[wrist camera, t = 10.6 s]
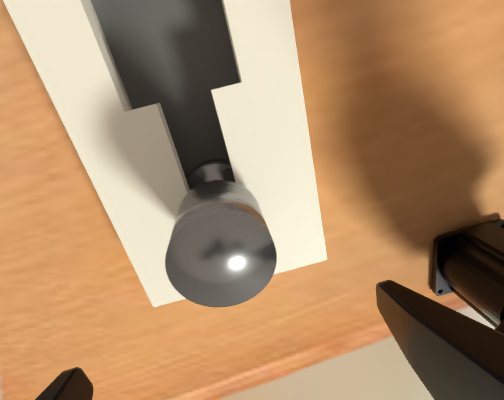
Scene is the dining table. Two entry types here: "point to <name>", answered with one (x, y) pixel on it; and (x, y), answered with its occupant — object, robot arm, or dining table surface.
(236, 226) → the keyhole peg
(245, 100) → the keyhole board
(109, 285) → the dining table surface
